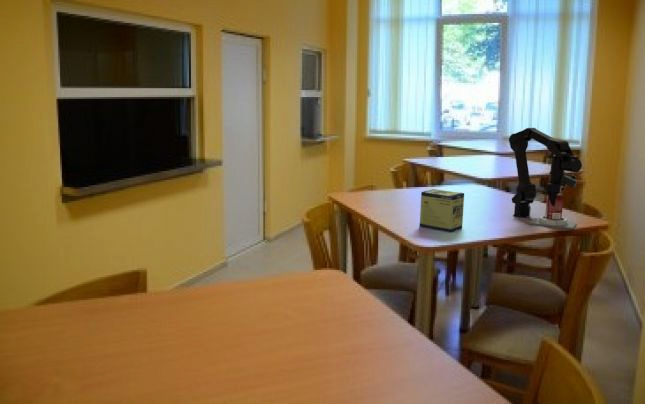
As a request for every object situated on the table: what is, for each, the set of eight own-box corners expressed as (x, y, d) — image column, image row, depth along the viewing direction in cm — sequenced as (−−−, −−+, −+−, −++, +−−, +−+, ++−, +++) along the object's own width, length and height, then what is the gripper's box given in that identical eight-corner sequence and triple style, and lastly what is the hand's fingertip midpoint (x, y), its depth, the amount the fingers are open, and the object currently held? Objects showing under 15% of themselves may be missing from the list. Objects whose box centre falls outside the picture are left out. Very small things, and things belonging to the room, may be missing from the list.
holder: (529, 224, 261) (529, 218, 260) (534, 219, 271) (535, 213, 271) (572, 229, 252) (573, 223, 252) (576, 224, 262) (577, 218, 262)
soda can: (562, 222, 257) (565, 195, 255) (546, 221, 259) (548, 194, 256) (559, 218, 264) (562, 192, 262) (543, 217, 265) (546, 191, 263)
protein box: (451, 232, 244) (453, 196, 241) (418, 226, 254) (420, 191, 251) (463, 228, 252) (465, 192, 249) (431, 223, 262) (432, 188, 259)
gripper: (574, 173, 245) (570, 210, 248) (580, 168, 261) (576, 202, 264) (546, 171, 251) (543, 206, 254) (553, 166, 266) (550, 200, 269)
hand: (554, 204), depth 260 cm, fingers closed on soda can, 7 cm apart
